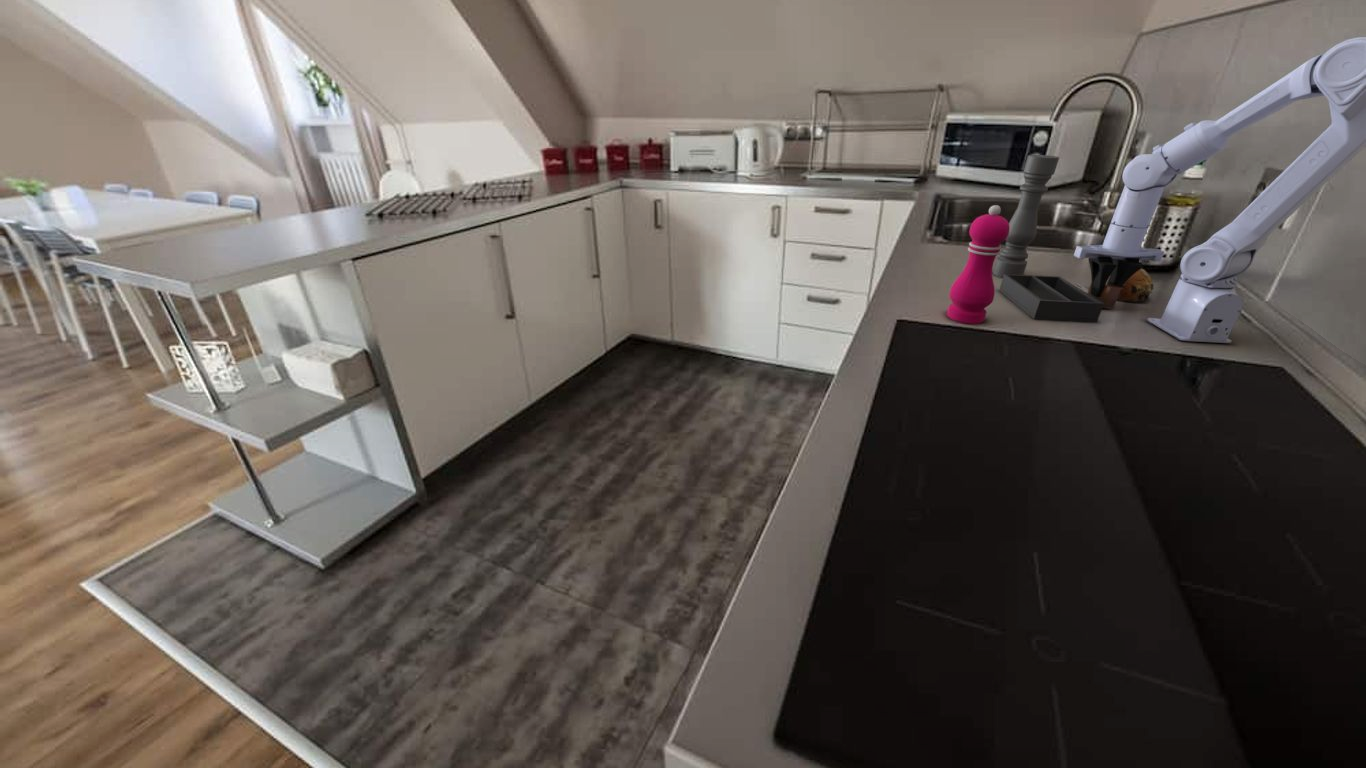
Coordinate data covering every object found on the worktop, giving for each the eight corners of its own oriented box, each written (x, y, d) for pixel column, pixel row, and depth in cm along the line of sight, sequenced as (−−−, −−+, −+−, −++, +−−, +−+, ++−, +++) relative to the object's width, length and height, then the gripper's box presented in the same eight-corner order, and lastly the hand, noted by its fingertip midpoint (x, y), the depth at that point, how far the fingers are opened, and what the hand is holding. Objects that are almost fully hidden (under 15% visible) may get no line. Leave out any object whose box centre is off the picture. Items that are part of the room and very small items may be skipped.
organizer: (1096, 322, 101) (1104, 303, 99) (1033, 319, 102) (1040, 300, 100) (1054, 293, 115) (1059, 276, 113) (998, 290, 116) (1003, 273, 114)
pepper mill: (991, 326, 98) (1027, 210, 89) (948, 323, 100) (978, 208, 90) (981, 312, 105) (1012, 202, 95) (940, 309, 106) (967, 200, 96)
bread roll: (1128, 306, 119) (1132, 269, 119) (1166, 302, 109) (1170, 260, 109) (1080, 304, 120) (1083, 266, 120) (1112, 299, 110) (1116, 258, 109)
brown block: (1114, 308, 107) (1122, 288, 105) (1101, 307, 107) (1109, 287, 105) (1077, 286, 118) (1084, 267, 116) (1065, 285, 118) (1072, 267, 117)
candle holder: (986, 272, 127) (1019, 155, 115) (1004, 269, 130) (1039, 154, 118) (1010, 280, 122) (1047, 158, 111) (1029, 277, 125) (1067, 157, 113)
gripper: (1157, 221, 105) (1128, 290, 112) (1076, 218, 106) (1053, 287, 113) (1183, 230, 99) (1151, 302, 105) (1097, 227, 100) (1071, 299, 106)
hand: (1101, 295), depth 109 cm, fingers closed on brown block, 2 cm apart
